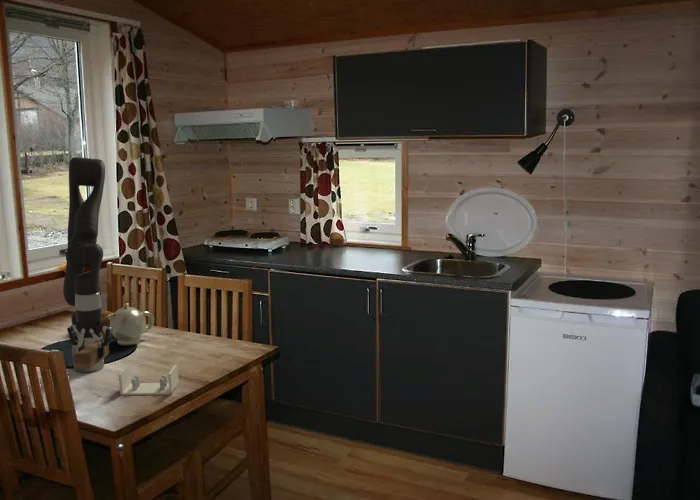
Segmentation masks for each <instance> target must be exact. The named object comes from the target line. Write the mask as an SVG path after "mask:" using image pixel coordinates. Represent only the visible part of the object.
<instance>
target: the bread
mask: <svg viewBox="0 0 700 500" xmlns="http://www.w3.org/2000/svg"><path fill="white" fill-rule="evenodd" d="M113 313H114V312H112V311H110V310H107V309H103V308H102V323H103V325H104V326H106V327H110V320H109V319H108V315H110V314H113ZM101 334H102V336H103V340H104V338H105V333H104V330H102V331H101ZM111 338H116V337H115V336H114V335H113V334H112V335H111Z"/></svg>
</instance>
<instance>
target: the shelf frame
mask: <svg viewBox="0 0 700 500" xmlns="http://www.w3.org/2000/svg"><path fill="white" fill-rule="evenodd" d="M178 371H179V369H178V364H174V365H173V367H172V368H171V369H170V371H169V372H168V374H167V375H166V374H163V375H161V377H160V378H159V382H145V383H144V382H142V383H140V375H134V376H133V377H134V378H132V377H131V367H130V365H129V364H128V365H126V366H125V367H124V368H123V369H122V370H121V371H120V372H119V374H118V382H119V393H120V396H145V395H146V396H149V395H151V396H154V395H158V396H159V395H162V396H163V395H173V393H174V392H175V391H176V389H177V388H178V386H179V384H180V383H179V372H178ZM167 376H168V378H167ZM167 380H168V381H167Z"/></svg>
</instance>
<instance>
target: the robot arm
mask: <svg viewBox="0 0 700 500" xmlns="http://www.w3.org/2000/svg"><path fill="white" fill-rule="evenodd" d="M69 160H70V161H69V164H68V193H69V194H68V195H69V196H68V197H69V198H68V199H69V201H68V202H69V203H68V204H69V206H68V220H67V222H68V223H67V249H66V251H65V260H66V265H65V272H64V279H63V286H62V287H63V288H62V289H63V291H62V292H63V293H62V294H63V298H64V301H65V302H66V303H67V304H68V305H69V306H70V307H75V312H74V313H72V315H71V318H70V321H71V325H70V326H69V327H67V328H66V330H67V334H68V337H69V340H70V342H71V354H72V363H73V371H74V372H79V373H91V372H96V371H99V370H101V369H103V368H104V367H105V361H104V360H105V358H103V356H104V355H105V346H107V345H108V344H109V345H110V344H111V341H112V340H111V339H112V337H111V335H112V330H113V327H112V326H110V327H106V326H104V325H103V323H102V309H103V308H102V294H101V285H100V270H101V266H102V263H103V262H102V261H103V258H104V249H103V248H102V246H101V245H100V244H99V243H97V241H98V235H99V216H100V209H101V204H102V199H103V193H104V188H105V181H106V166H105V162H104V160H102V159H99V158H98V159H97V158H90V157H89V158H88V157H78V156H77V157H76V156H75V157H72V158H71V159H69ZM80 186H81V187H91V188H92V187H93V188H92V191H90V192H91V193H90V194H89V195H88V197H87V198H86V199H85V200H84V198H83V195H82V194H81V191H80ZM85 267H91V269H90V270H89V271H85V269H86V268H85ZM102 330H104V333H105V338H104V339H103V336H102V334H101V331H102ZM93 341H95V342H96V343H97V345H98V358H99V359H101V358H103V359H102V360H101V361H99V362H98V363H97V364H96V365H94V366H93V367H92V368H91V369H88V368H75V364H74V355H76V354H77V353H78V352H80V351H81V350H83V349H84V348H85V347H87V346H88V345H89V344H91V343H92V342H93Z"/></svg>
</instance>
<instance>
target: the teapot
mask: <svg viewBox="0 0 700 500" xmlns="http://www.w3.org/2000/svg"><path fill="white" fill-rule="evenodd" d="M112 313H113V314H110V315H108V319H109V320H110V326H112V327H113V330H112V334H113V335H114V336H115V337H114V338H115V339H117V341H116V342H117V345H120V346H123V347H124V346H125V347H128V346H134V345H137V344H139V343H140V342H141V341H142V337H141V336H142V335H143V334H145V333H148V332H149V331H150V330H151V329H152V328H153V326H154V323H155V318H154V316H153V314H152V313H151V312H150V311H144V310H143V311H140V310H139V309H138V308H136V307H132V306H130V303H128V302H125V303H123V307H122V308H119V309H117V310H116V311H115V312H112ZM145 316H147V317H149V324H148V325H147V321H146V317H145ZM146 326H147V327H146Z"/></svg>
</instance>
